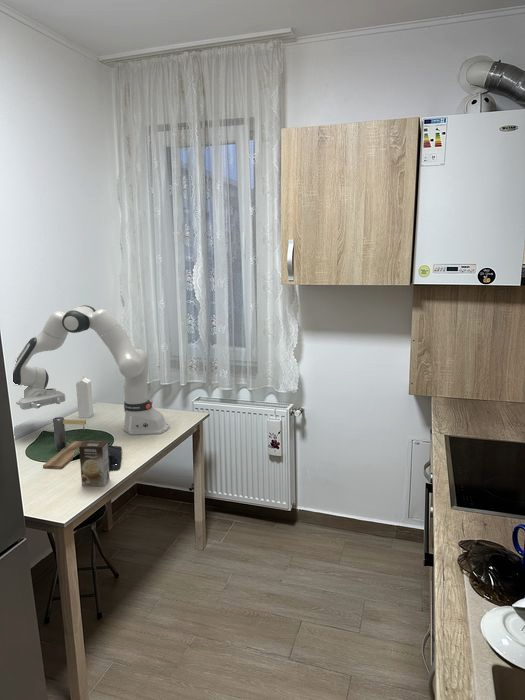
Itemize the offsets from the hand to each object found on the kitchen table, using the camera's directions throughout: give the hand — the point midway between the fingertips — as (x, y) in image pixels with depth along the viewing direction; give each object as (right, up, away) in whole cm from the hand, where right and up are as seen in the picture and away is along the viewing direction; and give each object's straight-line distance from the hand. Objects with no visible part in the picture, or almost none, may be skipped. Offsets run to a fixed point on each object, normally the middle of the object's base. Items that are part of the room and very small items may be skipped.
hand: (48, 404), depth 230 cm
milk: (+5, -10, +35) cm, 37 cm away
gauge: (+14, -19, -8) cm, 25 cm away
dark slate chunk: (+33, -22, -20) cm, 44 cm away
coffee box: (+35, -26, -39) cm, 59 cm away
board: (+15, -21, -15) cm, 29 cm away
